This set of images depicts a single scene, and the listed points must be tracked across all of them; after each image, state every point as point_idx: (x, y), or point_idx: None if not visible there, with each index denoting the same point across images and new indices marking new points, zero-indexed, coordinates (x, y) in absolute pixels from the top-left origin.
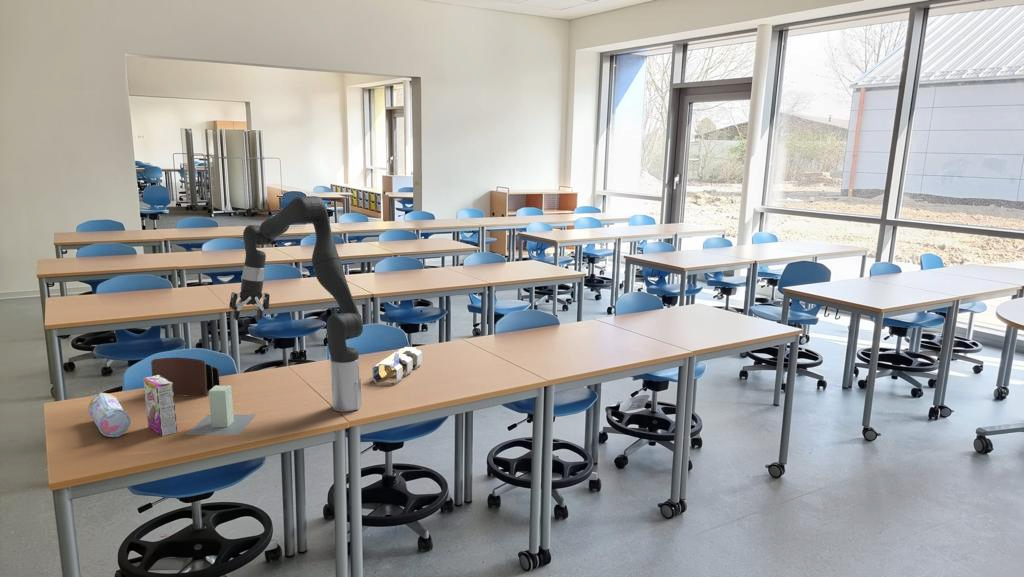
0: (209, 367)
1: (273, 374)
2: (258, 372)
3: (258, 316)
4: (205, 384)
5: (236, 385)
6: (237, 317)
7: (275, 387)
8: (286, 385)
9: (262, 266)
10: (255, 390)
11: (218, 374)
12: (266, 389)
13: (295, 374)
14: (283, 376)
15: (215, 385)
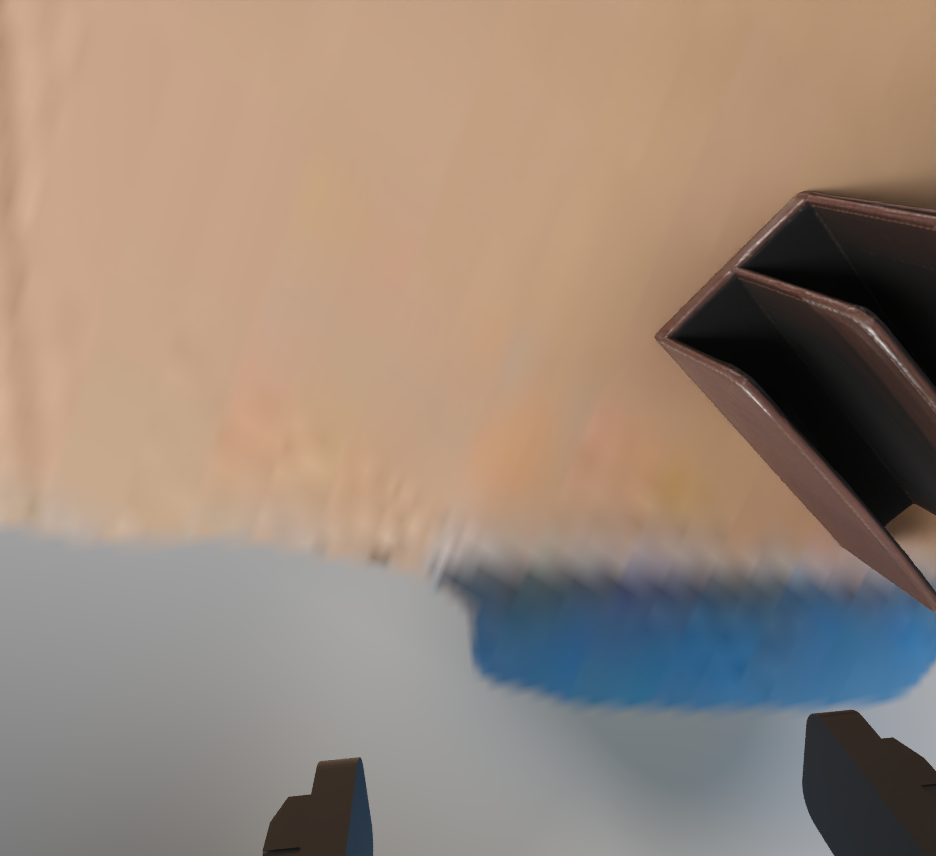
0: (868, 312)
1: (217, 399)
2: (306, 513)
3: (356, 841)
4: (866, 201)
5: (552, 304)
6: (884, 750)
7: (318, 23)
8: (209, 5)
9: None
10: (489, 70)
11: (710, 359)
12: (405, 26)
13: (33, 282)
14: (155, 294)
15: (692, 339)
